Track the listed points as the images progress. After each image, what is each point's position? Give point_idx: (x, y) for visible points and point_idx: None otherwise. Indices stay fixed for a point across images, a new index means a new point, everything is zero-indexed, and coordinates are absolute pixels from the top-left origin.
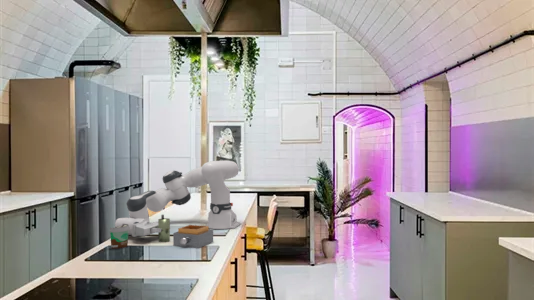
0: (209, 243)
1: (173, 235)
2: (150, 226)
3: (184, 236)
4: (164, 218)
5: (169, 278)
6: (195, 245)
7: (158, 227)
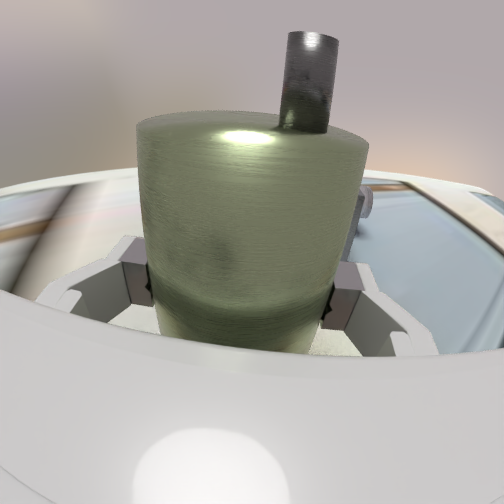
0: None
1: (360, 211)
2: (462, 369)
3: None
4: (163, 124)
5: (501, 213)
6: None
7: (316, 306)
